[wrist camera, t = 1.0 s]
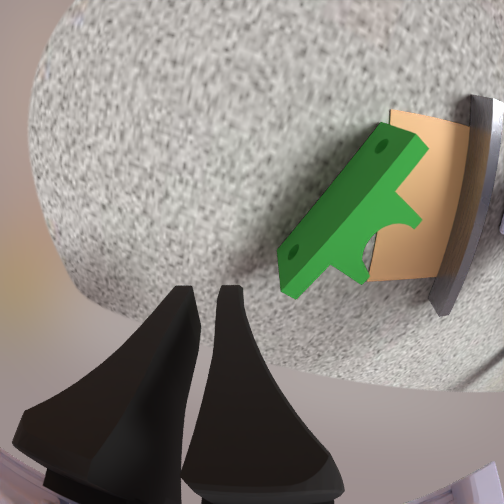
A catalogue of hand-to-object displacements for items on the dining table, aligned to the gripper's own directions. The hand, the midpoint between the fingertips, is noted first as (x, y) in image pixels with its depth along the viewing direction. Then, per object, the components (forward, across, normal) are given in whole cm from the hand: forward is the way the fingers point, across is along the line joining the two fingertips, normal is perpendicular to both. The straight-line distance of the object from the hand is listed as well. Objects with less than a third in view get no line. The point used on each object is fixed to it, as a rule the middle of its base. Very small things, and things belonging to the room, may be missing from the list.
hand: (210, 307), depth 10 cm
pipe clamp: (+10, -8, 0) cm, 12 cm away
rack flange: (+9, -15, 0) cm, 18 cm away
